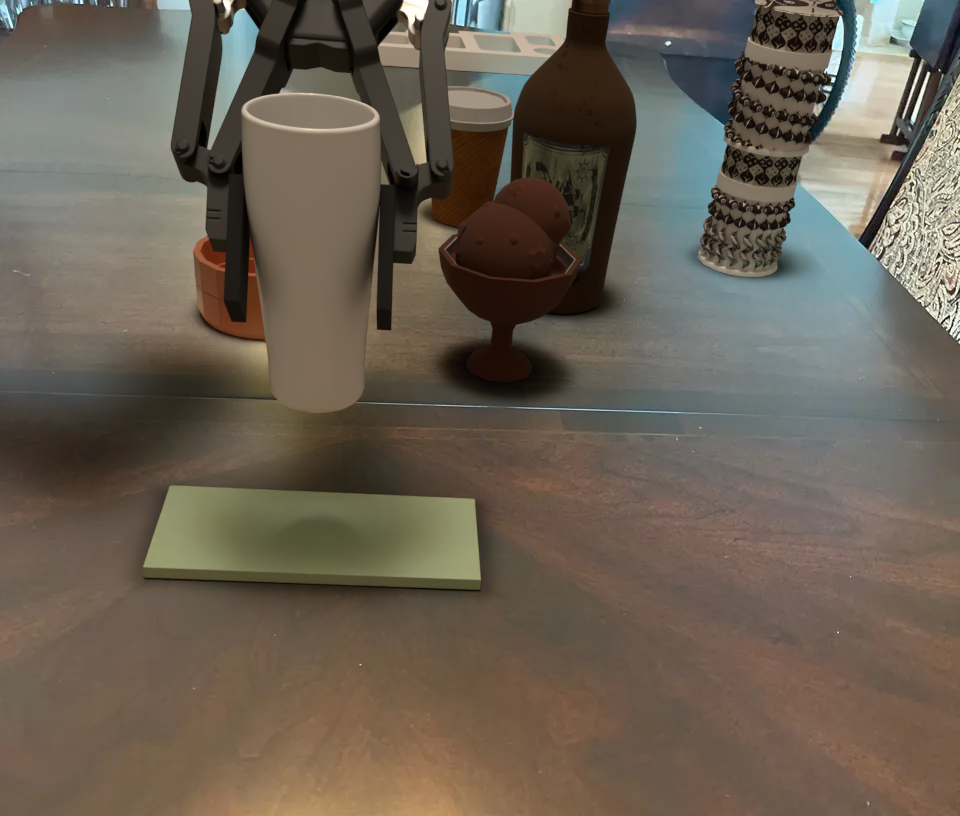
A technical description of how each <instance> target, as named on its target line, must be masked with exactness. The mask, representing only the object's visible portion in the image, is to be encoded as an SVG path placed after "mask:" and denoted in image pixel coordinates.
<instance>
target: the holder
mask: <svg viewBox="0 0 960 816" xmlns="http://www.w3.org/2000/svg"><path fill="white" fill-rule="evenodd" d="M457 32H458V33H457ZM457 32H449V39H448V42H447V45H446V49H445V63H446V71H462V72H473V73H474V72H476V73H490V74H503V75H506V74H507V75H518V76H519V75H520V76H531V75H532V74H533V73H534V72H535V71H536V70H537V69H538V68H539V67H540V66H541V65H542V64H543V63H544V62H545V61H547V60H548V59H549V58H550V57H551V56H552V55H553V54H554V53H555V52H556V51H557V50H558V49H559V48H560V46H561V45H562V44H563V43H564V41H565V39H564V37H563V36H562V35H561V34H560V35H559V34H549V33H548V34H547V33H532V32H521V31H520V32H518V31H509V33H499V32H498V33H497V32H495V33H494V32H483V31H468V30H467V31H466V30H458V31H457ZM378 51H379V57H380V61H381V64H382V66H383V67H385V66H387V67H402V68H414V69H415V68H416V69H419V56H420V51H419V50H416V49H415V48H414V46H413V45H412V44H411V43H410V42H409V39H408V30H407V29H405V31H403V32H402V31H392V30H391V32H390V33H389V34H388V35H387V36H386V38H385V39H384V40H383V41H382V42H381V43H380V45H379V46H378Z"/></svg>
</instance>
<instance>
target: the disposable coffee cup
mask: <svg viewBox="0 0 960 816" xmlns="http://www.w3.org/2000/svg"><path fill="white" fill-rule="evenodd" d="M447 86H448V98H449V110H450V122H451V133H452V145H453V157H454V170H453V180H452V187H451V193H450V195H449V196H448V197H447V198H445V199H441V200H440V199H436V198H434V197H433V198H430V199H431V216H432V217H433V219H434V220H436V221H438V222H440V223H442V224H444V225H448V226H452V227H458V225H459V224H460V223H461V222H463V221H464V220H465V219H466V218H468V217H469V216H470V215H472V214H473V213H474V212H476V211H477V210H478V209H480V208H481V207H482V206H483V204H485V203H486V202H493V201H494V199H495V197H496V190H497V187H498V181H499V176H500V171H501V166H502V161H503V156H504V152H505V147H506V142H507V136H508V132H509V129H510V127H511V125H512V122H513V117H514V110H513V107H512V106H513V105H512V100H511V98H510V97H508V96H507V95H506V94H504V93H501V92H498V91H495V90H492V89H491V90H490V89H487V88H480V87H474V86H463V85H462V86H461V85H457V86H456V85H454V86H453V85H450V86H449V85H447Z"/></svg>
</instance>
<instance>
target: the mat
mask: <svg viewBox="0 0 960 816" xmlns="http://www.w3.org/2000/svg"><path fill="white" fill-rule="evenodd" d="M477 524H478V522H477V510H476V500H475V498H468V497H467V498H463V497H442V496H441V497H440V496H420V495H419V496H418V495H397V494H378V493H377V494H375V493H353V492H350V493H349V492H331V491H308V490H284V489H281V490H280V489H263V488H244V487H243V488H240V487H218V486H217V487H216V486H197V485H195V486H194V485H173V484H170V485H169V486H168V490H167V493H166V496H165V499H164V502H163V505H162V509H161V511H160V514H159V517H158V520H157V523H156V526H155V529H154V532H153V535H152V538H151V542H150V544H149V546H148V547H149V548H148V550H147V554H146V557H145V559H144V562H143V565H142V571H143V577H144V578H148V579H173V580H174V579H175V580H178V579H179V580H200V581H201V580H202V581H203V580H204V581H228V582H256V583H257V582H259V583H283V584H284V583H285V584H307V585H308V584H309V585H310V584H311V585H312V584H313V585H334V586H335V585H336V586H337V585H339V586H365V587H390V588H391V587H392V588H420V589H422V588H424V589H444V590H473V591H480V590H481V584H482V575H481V562H480V549H479V537H478V535H479V534H478V525H477Z"/></svg>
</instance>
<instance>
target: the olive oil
mask: <svg viewBox="0 0 960 816" xmlns="http://www.w3.org/2000/svg"><path fill="white" fill-rule="evenodd" d="M611 2H612V1H611V0H571V5H570V7H569V8H568V10H567V11H568V12H567V20H566V32H565V39H564V40H565V41H564V43H563V44H562V45H561V46H560V48H559V49H558V50H557V51H556V52H555V53H554V54H553V55H552V56H551V57H550V58H549V59H548V60H547V61H545V62H544V63H543V64H542V65H541V66H540V67H539V68H538V69H537V70H536V71H535V72H534V73H533V74H532V75H530V76H529V77H528V79H527V80H526V81H525V83H524V85H523V87H522V88H521V90H520V93H519V96H518V97H517V101H516V104H515V107H514V110H513V112H514V117H513V120H512V131H511V132H512V133H511V155H510V157H511V158H510V179H509V181H510V182H509V183H511V182H512V181H514V180H516V179H521V178H526V177H532V178H539V179H542V180H544V181H546V182H548V183H550V184H552V185H553V186H555V187H556V188H557V189H558V190H559V191H560V192H561V193H562V195H563V197H564V199H565V201H566V203H567V204H568V209H569V214H570V220H571V225H572V226H571V227H570V229H569V230H568V232H567V234H566V235H565V237H564V238H563V240H562V241H561V242H562V243H565V244H566V245H567V246H568V247H569V248H570V249H571V250H572V251H573V252H574V253H575V254H576V255H577V256H578V257H579V258H580V259H581V263H580V266H579V269H578V271H577V274H576V277H575V279H574V281H573V282H572V284H571V286H570V287H569V289H568V290H567V292H566V294H565V295H564V296H563V298H562V299H561V301H560V302H559V304H558V305H557V306H556V307H555V308H553V309H552V310H551V311H550V312H548V313H547V314H558V315H559V314H560V315H561V314H562V315H569V314H570V315H571V314H579V313H584V312H588V311H591V310H592V309H595V308H596V307H597V306H598V305H600V303H601V301H602V297H603V293H604V288H605V282H606V277H607V272H608V267H609V261H610V256H611V251H612V247H613V241H614V236H615V231H616V227H617V222H618V217H619V212H620V209H621V208H620V207H621V202H622V199H623V193H624V189H625V184H626V179H627V175H628V171H629V166H630V161H631V157H632V153H633V148H634V144H635V139H636V133H637V126H638V125H637V124H638V123H637V119H638V117H637V109H636V101H635V97H634V94H633V92H632V90H631V87H630V85H629V83H628V82H627V80H626V79H625V77H624V76H623V74H622V72H621V71H620V69H619V67H618V66H617V64H616V62H615V61H614V59H613V57H612V56H611V54H610V52H609V50H608V48H607V43H606V42H607V35H608V30H609V24H610V17H611V12H609V7H610V4H611Z"/></svg>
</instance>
